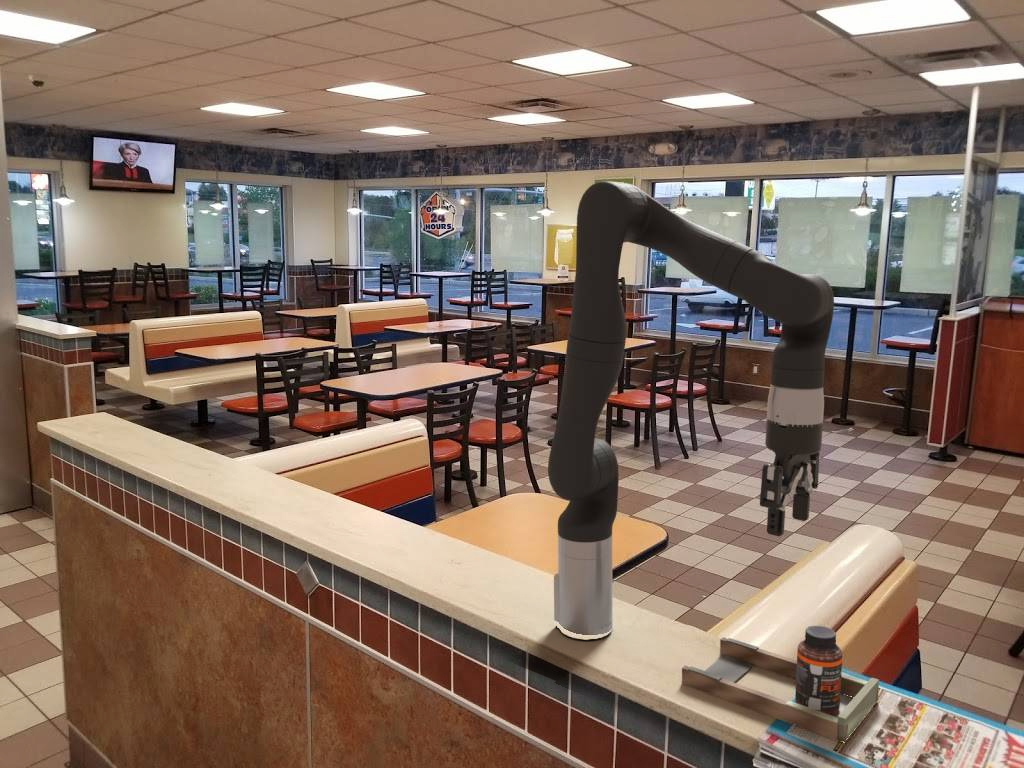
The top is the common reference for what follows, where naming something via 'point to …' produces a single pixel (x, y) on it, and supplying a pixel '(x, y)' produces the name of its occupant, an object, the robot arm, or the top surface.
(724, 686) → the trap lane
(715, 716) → the top surface
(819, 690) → the supplement bottle
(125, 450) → the top surface
